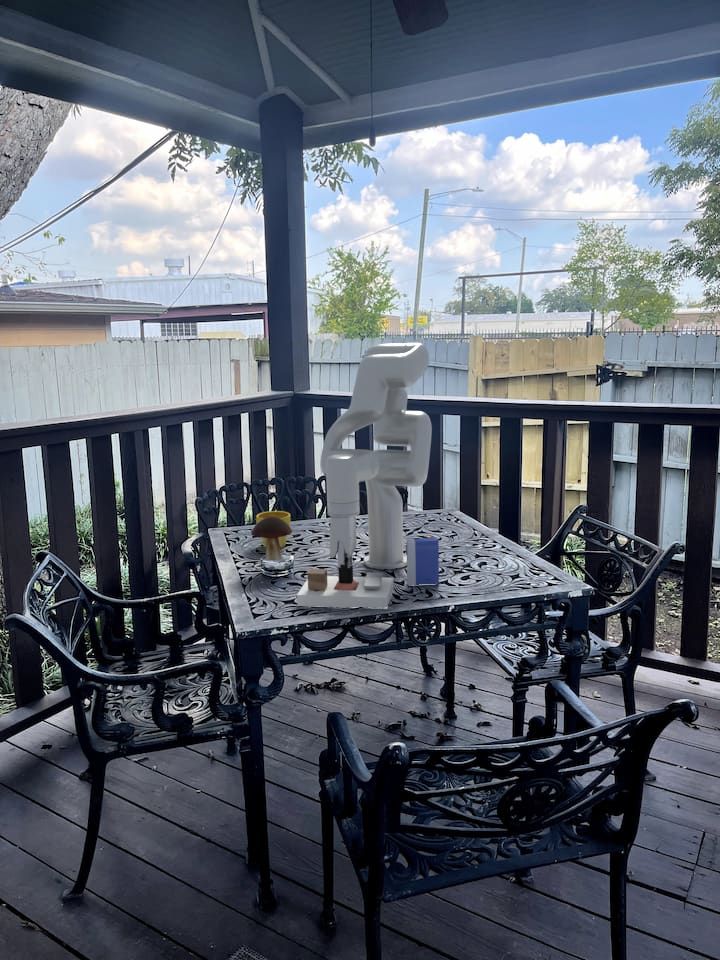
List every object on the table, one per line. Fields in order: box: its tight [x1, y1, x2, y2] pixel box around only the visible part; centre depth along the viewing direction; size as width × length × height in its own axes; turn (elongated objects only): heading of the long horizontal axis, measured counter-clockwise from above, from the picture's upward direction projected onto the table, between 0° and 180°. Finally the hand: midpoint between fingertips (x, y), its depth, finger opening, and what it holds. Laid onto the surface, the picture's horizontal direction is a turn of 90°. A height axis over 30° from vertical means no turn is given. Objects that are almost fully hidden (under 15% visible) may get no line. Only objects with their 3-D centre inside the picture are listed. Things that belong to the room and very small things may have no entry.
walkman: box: [405, 535, 440, 585], centre depth 163 cm, size 8×3×12 cm, turn 96°
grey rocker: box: [364, 571, 383, 589], centre depth 155 cm, size 6×4×1 cm, turn 171°
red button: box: [337, 580, 356, 590], centre depth 156 cm, size 4×4×3 cm
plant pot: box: [255, 510, 291, 549], centre depth 200 cm, size 10×10×10 cm
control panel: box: [296, 575, 394, 608], centre depth 156 cm, size 13×21×4 cm, turn 81°
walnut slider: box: [307, 568, 328, 590], centre depth 155 cm, size 3×4×4 cm
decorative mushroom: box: [251, 516, 293, 561], centre depth 177 cm, size 11×11×15 cm
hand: (346, 582), depth 156 cm, fingers closed
